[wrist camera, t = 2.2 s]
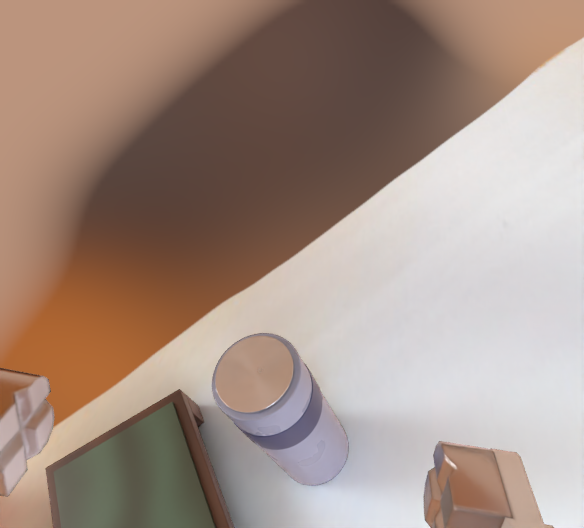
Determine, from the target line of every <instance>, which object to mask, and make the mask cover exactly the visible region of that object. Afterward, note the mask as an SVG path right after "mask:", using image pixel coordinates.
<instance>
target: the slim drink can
mask: <svg viewBox="0 0 584 528" xmlns="http://www.w3.org/2000/svg"><path fill="white" fill-rule="evenodd" d="M212 391H213V396H214V399H215V401H216V403H217V405H218V406H219V408H220V409H221V410H222V411H223V412H224V413H225V414H226V415H227V416H228V417H229V418H230V419H231V420H232V421H233V422H234V424H235V425H236V426H237V427H238V428H239V429H240V430H241V431H242V432H243V433H244V434H245V435H246V436H247V437H248V438H249V439H251V440H252V441H253V442H254V443H255V444H257V445H258V446H259V447H260V448H261V449H262V450H263V451H264V452H265V453H266V454H267V455H268V456H269V457H270V458H271V459H272V460H274V461H275V462H276V463H277V464H278V465H279V466H280V467H281V468H282V469H283V470H284V471H285V472H286V473H287V474H288V475H289V476H290V477H291V478H292V479H294V480H295V481H297V482H299V483H301V484H305V485H320V484H323V483H326V482H328V481H330V480H331V479H333V478H334V477H335V476H336V475H337V474H338V473H339V472H340V471H341V469H342V468H343V466H344V464H345V462H346V459H347V456H348V449H349V446H348V439H347V435H346V433H345V431H344V429H343V427H342V426H341V424H340V422H339V421H338V419H337V417H336V416H335V414H334V412H333V411H332V409H331V407H330V406H329V404H328V402H327V401H326V399H325V397H324V396H323V394H322V392H321V391H320V388H319V386H318V384H317V382H316V381H315V379H314V377H313V376H312V374H311V372H310V371H309V369H308V368H307V366H306V365H305V363H304V362H303V361H302V359H301V357H300V356H299V354H298V352H297V351H296V349H295V348H294V346H293V345H292V344H291V343H290V342H289V341H287V340H286V339H284V338H282V337H280V336H278V335H274V334H269V333H259V334H254V335H250V336H247V337H244V338H242V339H241V340H239V341H237V342H236V343H234V344H233V345H232V346H230V347H229V348H228V349H227V350H226V351H225V353H224V354H223V355H222V356H221V358H220V359H219V361H218V363H217V365H216V367H215V370H214V373H213V378H212Z"/></svg>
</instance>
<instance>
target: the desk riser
mask: <svg viewBox="0 0 584 528" xmlns="http://www.w3.org/2000/svg"><path fill="white" fill-rule="evenodd" d="M203 423H204V420H203V418H202V415H201V412H200V410H199V407H198V405H197V404H196V403H195V402H194V401H192V400H191V399H190V398H189V397H188V396H187V395H186V394H184V393H183V392H182V391H181V390H180V389H179V390H177V391H176V392H174V393H172V394H170V395H169V396H167V397H165V398H164V399H162V400H160V401H159V402H157V403H155V404H153V405H152V406H150V407H148V408H147V409H145V410H143V411H142V412H140V413H138V414H137V415H135V416H133V417H131V418H130V419H128V420H126V421H125V422H123V423H121V424H120V425H118V426H116V427H115V428H113V429H111V430H109V431H108V432H106V433H104V434H103V435H101V436H99V437H98V438H96V439H94V440H93V441H91V442H89V443H87V444H86V445H84V446H82V447H81V448H79V449H77V450H76V451H74V452H72V453H70V454H69V455H67V456H65V457H64V458H62V459H60V460H59V461H57V462H55V463H54V464H52V465H50V466H48V467H47V468H46V475H47V483H48V490H49V498H50V505H51V513H52V520H53V528H234V525H233V522H232V520H231V517H230V514H229V511H228V509H227V506H226V503H225V501H224V498H223V495H222V492H221V490H220V487H219V484H218V481H217V479H216V476H215V473H214V470H213V468H212V465H211V462H210V459H209V457H208V454H207V451H206V448H205V446H204V443H203V440H202V437H201V435H200V432H199V429H198V426H200V425H201V424H203Z"/></svg>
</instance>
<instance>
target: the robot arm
mask: <svg viewBox="0 0 584 528" xmlns="http://www.w3.org/2000/svg"><path fill="white" fill-rule="evenodd" d="M50 392H51V390H50V385H49V379H47V378H46V377H44V376H40V375H35V374H29V373H24V372H19V371H14V370H9V369H4V368H0V496H6V497H8V496H9V494H10V493H11V492H12V490H13V489H14V488H15V486H16V485H17V484H18V482H19V481H20V480H21V478H22V477H23V475H24V474H25V473H26V471H27V460H28V459H30V458H31V457H33V456H35V455H37V454H39V453H40V452H41V451H42V449H43V448H44V447H45V445H46V444H47V442H48V440H49V437H50V435H51V432H52V430H53V424H54V411H53V407H52V406H51V405H50V404H49V403H48V401H47V400H46V399H45V398H46V397H47V396H48V394H49V393H50ZM433 456H434V463H435V467H434V468H433V469H431V470H430V471H428V475H427V479H426V483H425V490H424V515H425V521H426V522H427V523H428V525H429V526H430V527H431V528H554V527H553V526H551V525H546V524H544V522H543V519H542V517H541V514H540V511H539V508H538V505H537V502H536V500H535V497H534V494H533V491H532V488H531V485H530V483H529V480H528V477H527V474H526V471H525V468H524V466H523V463H522V460H521V457H520V456H519V455H518V454H517V453H516V452H510V451H503V450H497V449H488V448H482V447H475V446H469V445H462V444H456V443H450V442H443V441H439V442H438V444H437V445H436V448H435V451H434V455H433Z"/></svg>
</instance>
